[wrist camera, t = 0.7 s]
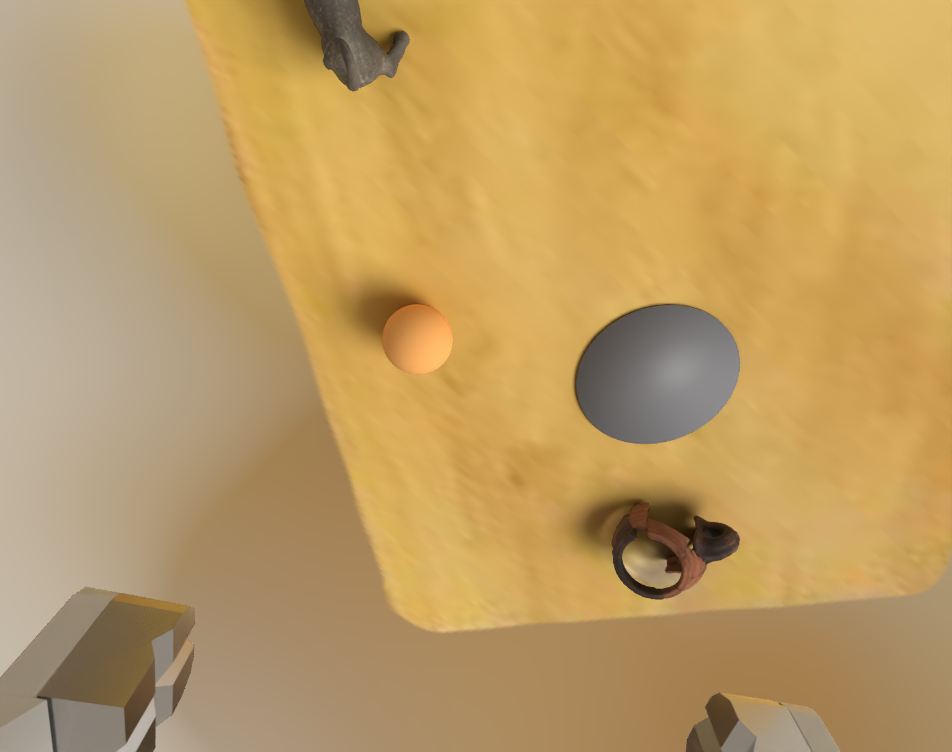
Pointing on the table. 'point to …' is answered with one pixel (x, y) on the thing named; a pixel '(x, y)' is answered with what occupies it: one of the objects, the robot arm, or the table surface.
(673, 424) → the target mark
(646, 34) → the table surface
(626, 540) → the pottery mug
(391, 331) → the ball
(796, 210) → the table surface
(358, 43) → the dog figurine
